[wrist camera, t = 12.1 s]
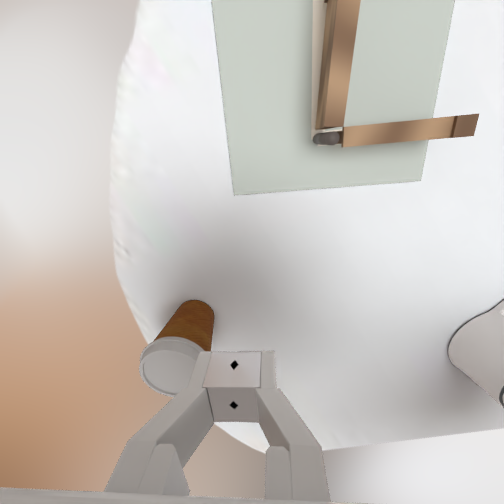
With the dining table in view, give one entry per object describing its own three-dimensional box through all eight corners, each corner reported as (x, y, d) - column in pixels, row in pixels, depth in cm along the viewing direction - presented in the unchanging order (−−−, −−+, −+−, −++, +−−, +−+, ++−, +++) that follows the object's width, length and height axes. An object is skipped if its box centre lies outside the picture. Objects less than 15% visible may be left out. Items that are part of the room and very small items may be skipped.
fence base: (431, 119, 28) (482, 113, 22) (428, 136, 29) (476, 135, 22) (313, 131, 30) (326, 128, 23) (312, 147, 30) (326, 149, 24)
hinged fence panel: (328, 129, 29) (343, 126, 23) (312, 129, 29) (323, 126, 23) (345, -23, 23) (370, -76, 18) (326, -23, 23) (345, -75, 18)
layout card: (459, -35, 23) (462, -39, 23) (419, 180, 32) (421, 181, 31) (212, 0, 25) (211, -2, 25) (234, 194, 34) (234, 195, 33)
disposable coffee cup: (228, 333, 44) (216, 397, 33) (178, 338, 45) (149, 401, 34) (216, 288, 40) (198, 343, 29) (161, 294, 41) (124, 350, 30)
